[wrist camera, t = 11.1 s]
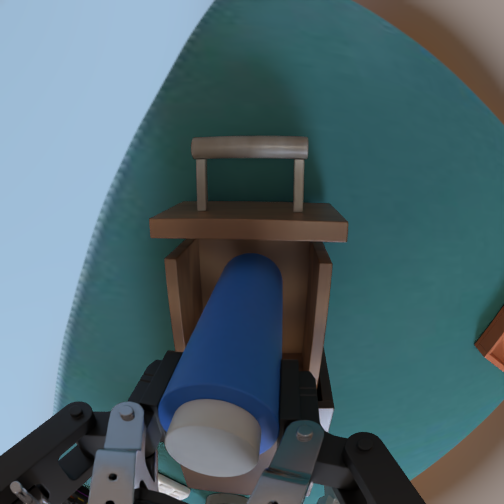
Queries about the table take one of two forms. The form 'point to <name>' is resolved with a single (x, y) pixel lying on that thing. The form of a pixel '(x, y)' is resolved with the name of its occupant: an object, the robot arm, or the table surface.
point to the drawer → (253, 246)
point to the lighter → (328, 497)
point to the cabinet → (249, 480)
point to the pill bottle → (229, 374)
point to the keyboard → (78, 496)
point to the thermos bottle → (225, 499)
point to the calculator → (172, 488)
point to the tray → (493, 341)
